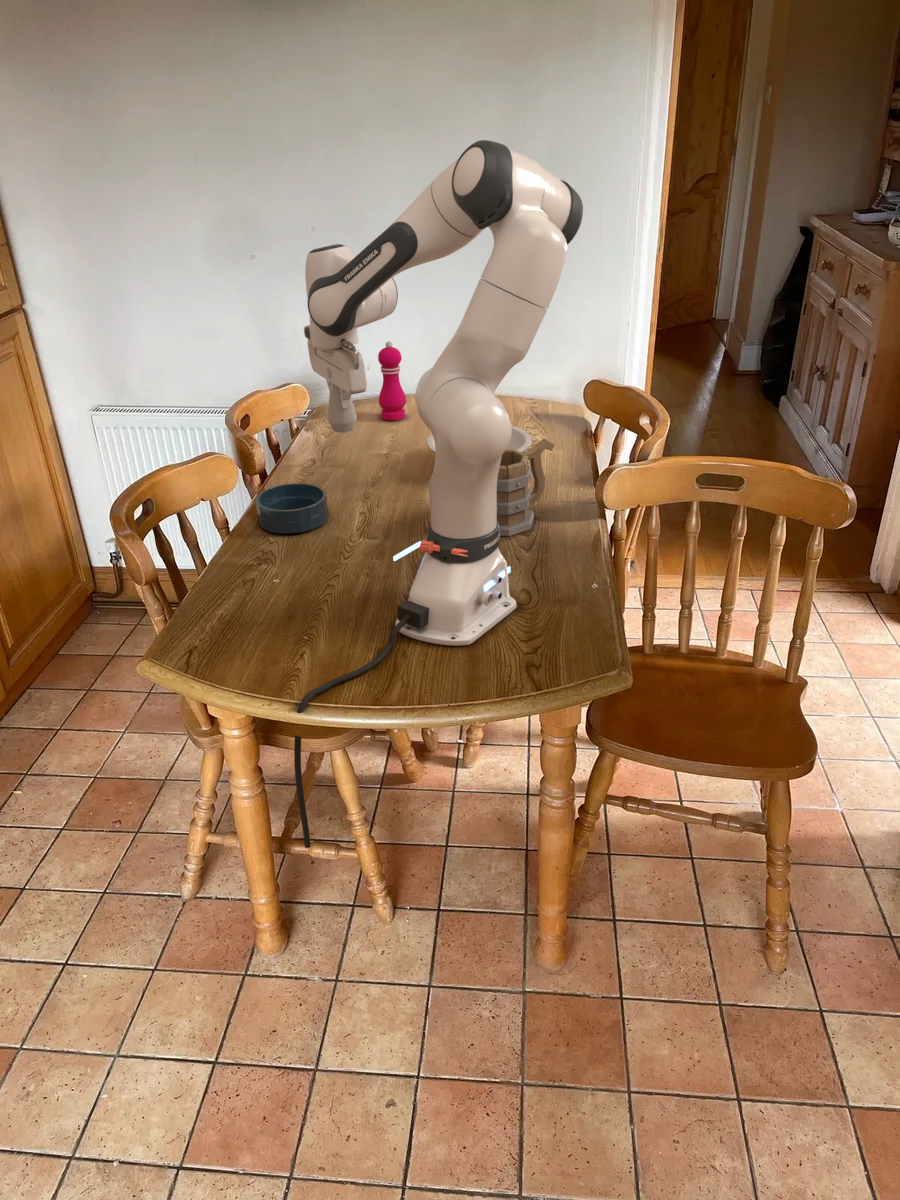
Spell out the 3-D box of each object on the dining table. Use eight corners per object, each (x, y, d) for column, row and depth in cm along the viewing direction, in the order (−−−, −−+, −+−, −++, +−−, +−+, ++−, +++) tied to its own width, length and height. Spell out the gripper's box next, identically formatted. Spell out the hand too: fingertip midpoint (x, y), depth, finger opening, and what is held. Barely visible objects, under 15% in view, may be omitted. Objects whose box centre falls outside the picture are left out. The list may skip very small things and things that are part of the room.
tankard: (494, 542, 180) (493, 469, 172) (457, 519, 189) (455, 450, 182) (573, 516, 189) (576, 446, 182) (535, 496, 198) (536, 429, 191)
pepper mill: (412, 415, 246) (408, 339, 236) (396, 423, 241) (392, 346, 231) (390, 411, 250) (385, 336, 240) (374, 419, 245) (368, 343, 235)
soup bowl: (549, 476, 208) (550, 448, 204) (450, 494, 200) (449, 466, 197) (505, 442, 227) (505, 416, 224) (413, 457, 220) (411, 431, 217)
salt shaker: (352, 434, 183) (346, 369, 177) (325, 433, 185) (318, 369, 178) (361, 424, 188) (355, 361, 182) (334, 423, 189) (328, 360, 183)
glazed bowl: (304, 540, 183) (301, 515, 180) (245, 529, 188) (241, 504, 185) (341, 512, 194) (338, 488, 191) (284, 502, 199) (281, 479, 196)
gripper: (371, 343, 170) (377, 415, 177) (329, 321, 186) (336, 389, 193) (340, 348, 168) (347, 421, 175) (300, 326, 184) (307, 394, 190)
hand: (340, 404), depth 184 cm, fingers closed on salt shaker, 3 cm apart
